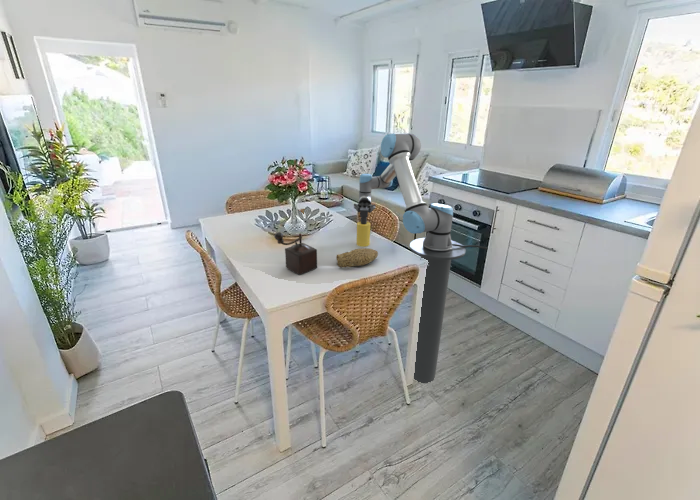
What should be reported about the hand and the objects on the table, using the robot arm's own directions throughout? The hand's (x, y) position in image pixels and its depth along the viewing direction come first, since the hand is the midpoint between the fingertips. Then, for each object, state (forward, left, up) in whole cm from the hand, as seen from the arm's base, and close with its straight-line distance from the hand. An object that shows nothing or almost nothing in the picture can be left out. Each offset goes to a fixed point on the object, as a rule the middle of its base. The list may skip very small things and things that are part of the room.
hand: (364, 214), depth 189 cm
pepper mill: (+29, +43, -14) cm, 54 cm away
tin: (+40, -24, -14) cm, 49 cm away
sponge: (+2, +34, -14) cm, 37 cm away
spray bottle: (0, +10, -14) cm, 17 cm away
